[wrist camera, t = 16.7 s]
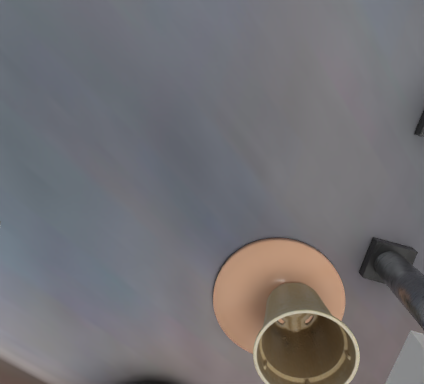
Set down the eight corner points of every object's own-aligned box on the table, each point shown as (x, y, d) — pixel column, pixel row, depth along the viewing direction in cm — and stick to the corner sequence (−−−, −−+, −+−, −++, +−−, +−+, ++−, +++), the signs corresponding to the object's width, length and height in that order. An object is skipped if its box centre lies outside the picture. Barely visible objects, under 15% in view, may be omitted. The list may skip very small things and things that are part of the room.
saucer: (232, 222, 39) (232, 225, 38) (361, 258, 38) (364, 262, 37) (200, 333, 42) (199, 338, 41) (318, 367, 42) (320, 373, 41)
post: (373, 237, 37) (446, 307, 24) (412, 248, 37) (509, 324, 24) (359, 272, 38) (421, 359, 25) (397, 283, 38) (481, 376, 25)
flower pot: (241, 328, 40) (240, 383, 32) (265, 257, 38) (271, 297, 30) (318, 351, 40) (337, 413, 32) (347, 281, 38) (376, 328, 29)
